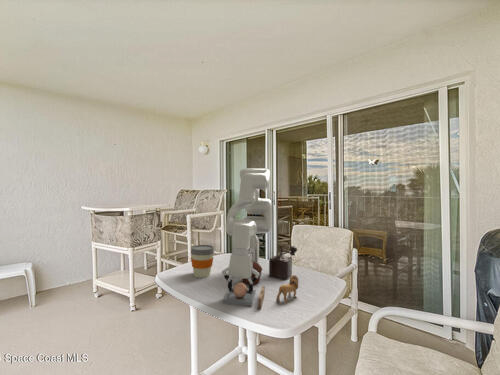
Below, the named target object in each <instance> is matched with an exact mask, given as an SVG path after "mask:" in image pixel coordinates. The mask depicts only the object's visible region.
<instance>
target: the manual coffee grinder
mask: <svg viewBox="0 0 500 375" xmlns="http://www.w3.org/2000/svg"><path fill="white" fill-rule="evenodd" d="M279 247H280V248H279V250H280V254H278V255H277V254H276V255H274V256H272V257H271V258H269V261H268V262H269V264H268V277H270V278H276V279H281V280H288V279H289V278H290V277H291V276H292V275H293V257H294V256H296V252H297V251H298V248H297V247H296V246H294V245H293V246H290V248H289V250H290V251H289V250H286V249H284V248H283V245H280V246H279ZM283 252H285V253H288V254H289V255H291V256H293V257H289V256H286V255H283ZM291 274H292V275H291ZM288 277H289V278H288ZM287 278H288V279H287Z"/></svg>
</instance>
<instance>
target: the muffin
mask: <svg viewBox="0 0 500 375" xmlns="http://www.w3.org/2000/svg"><path fill="white" fill-rule="evenodd" d="M253 269H255V270H256V271H257V272H259V273H260V276H259V277H258V278H257V280H256V281H255V282H254V283H253V286H254V285H258V284H259V283H260V280H261V274H262V271H263V268H262V266H261V265H260V263H259V264H258V263H256V262H253ZM251 276H252V278H254V277H255V276H256V275H255V274H254V273H253V274H252V275H251ZM241 280H242V283H243V284H245V285H246V286H247V285H248V286H249V283H250V282H249V280H248V279H244V278H241Z"/></svg>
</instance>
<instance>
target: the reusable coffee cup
mask: <svg viewBox="0 0 500 375" xmlns="http://www.w3.org/2000/svg"><path fill="white" fill-rule="evenodd" d="M214 248H215V247H214V246H213V245H209V244H197V245H193V246H192V247H191V248H190V254H191V259H190V260H191V266H192V272H193V273H192V274H193V276H194V277H195V278H200V279H201V278H208V277H209V276H211V272H212V267H213V262H214V254H215V249H214Z"/></svg>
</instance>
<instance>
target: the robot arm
mask: <svg viewBox="0 0 500 375" xmlns="http://www.w3.org/2000/svg"><path fill="white" fill-rule="evenodd" d="M239 178H240V185H239V192H238V193H239V194H238V199H237V201H235V202H234V204H232V206H231V207H230V209H229V210H228V212H227V217H226V222H225V232H226V234H227V235H229V236H232V252H231V253H230V258H229V262H228V263H229V264H228V267H226V268H224V269H223V270H222V271H221V273H222V275H223V277H224V278H225V280H226V282H227V289H228V290H229V292H230V291H231V290H232V288H233V280H232V279H233V278H234V279H242V278H244V279H248V280H249V282H250V283H249V285H248V289H249V293H251V291H253V290H254V285H253V283H254V282H255V281H256V280H257V278H258V277H259V276H260V273H259V272H257V271H256V270H255V269H253V262H256V263H258V264H259V265H260V262H259V261H260V260H259V259H260V239H259V237H258V236H257V234H270V233H271V232H272V230H273V229H272V228H273V203H272V201H271V199H269V198H261V197H260V190H267V189H268V188H269V186H270V181H271V171H270V169H268V168H258V167H256V168H255V167H253V168H252V167H251V168H249V167H248V168H242V169H241V170H240V171H239ZM242 210H244V211H245V213H246V214H248V215H250V216H245V217H243V218H242V219H234V217H235V216H236V215H237V213H238V212H240V211H242ZM251 215H252V216H251ZM253 215H263V216H253ZM227 272H228V273H227ZM253 273H254V274H255V275H256V276H255V277H254V278H252V276H251V275H252V274H253ZM260 277H261V276H260Z"/></svg>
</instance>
